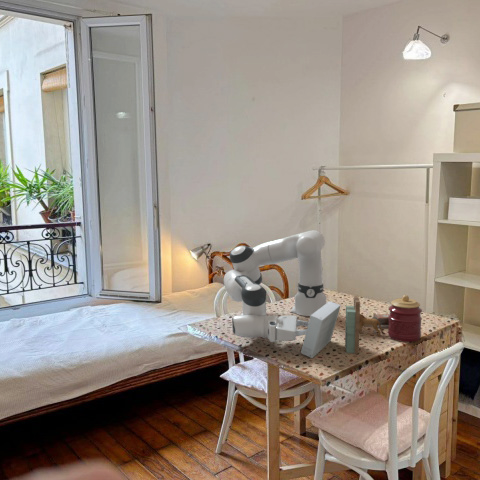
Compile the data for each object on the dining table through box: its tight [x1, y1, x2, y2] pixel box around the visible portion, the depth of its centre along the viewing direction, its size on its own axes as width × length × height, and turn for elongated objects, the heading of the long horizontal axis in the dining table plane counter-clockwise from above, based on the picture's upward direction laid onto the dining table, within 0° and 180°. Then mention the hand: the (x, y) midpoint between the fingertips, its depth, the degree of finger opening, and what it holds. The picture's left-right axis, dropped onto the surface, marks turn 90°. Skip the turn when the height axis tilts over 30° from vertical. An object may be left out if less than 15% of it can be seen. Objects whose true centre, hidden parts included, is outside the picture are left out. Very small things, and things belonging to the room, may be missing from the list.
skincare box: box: [300, 300, 341, 359], centre depth 193 cm, size 21×5×16 cm, turn 151°
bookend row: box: [344, 295, 361, 355], centre depth 193 cm, size 9×4×20 cm, turn 172°
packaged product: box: [371, 313, 390, 330], centre depth 223 cm, size 18×5×10 cm
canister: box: [387, 294, 423, 343], centre depth 206 cm, size 13×13×18 cm
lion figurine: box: [359, 313, 386, 337], centre depth 211 cm, size 15×5×9 cm, turn 69°
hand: (308, 327), depth 195 cm, fingers open, 8 cm apart
